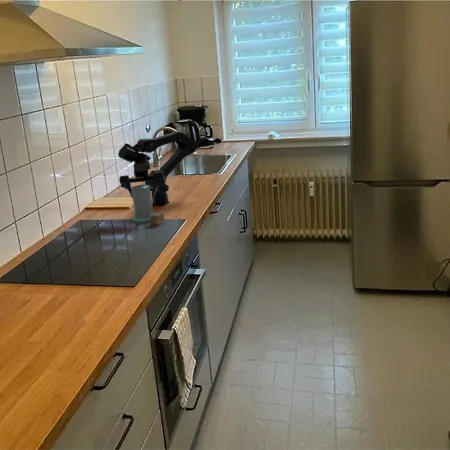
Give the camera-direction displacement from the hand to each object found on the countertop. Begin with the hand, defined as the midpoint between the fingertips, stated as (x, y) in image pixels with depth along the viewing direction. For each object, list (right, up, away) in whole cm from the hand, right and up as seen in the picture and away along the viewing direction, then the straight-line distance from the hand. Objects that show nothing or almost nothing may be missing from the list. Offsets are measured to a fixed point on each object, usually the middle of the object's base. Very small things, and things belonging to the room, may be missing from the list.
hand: (143, 196), depth 216 cm
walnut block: (+7, -11, -8) cm, 16 cm away
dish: (+1, -9, 0) cm, 9 cm away
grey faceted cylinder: (+1, -8, -1) cm, 8 cm away
